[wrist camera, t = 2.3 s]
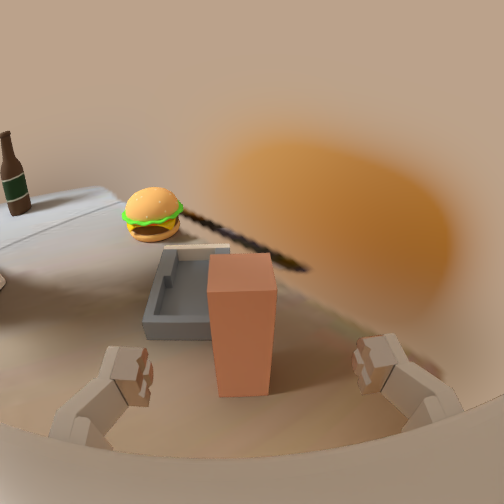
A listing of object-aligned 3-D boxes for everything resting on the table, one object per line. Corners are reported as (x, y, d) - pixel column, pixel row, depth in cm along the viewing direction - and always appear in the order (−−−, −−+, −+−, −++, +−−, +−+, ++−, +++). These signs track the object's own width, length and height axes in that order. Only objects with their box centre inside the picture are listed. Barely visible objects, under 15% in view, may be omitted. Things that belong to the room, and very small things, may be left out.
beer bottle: (13, 209, 73) (-3, 134, 60) (34, 202, 76) (19, 126, 63) (7, 219, 67) (-11, 138, 54) (29, 212, 70) (12, 129, 57)
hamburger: (133, 219, 64) (127, 182, 60) (187, 216, 65) (184, 177, 61) (119, 248, 54) (110, 205, 49) (182, 245, 55) (177, 200, 51)
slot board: (231, 339, 36) (230, 321, 35) (147, 339, 36) (141, 322, 34) (230, 259, 51) (229, 243, 49) (167, 261, 50) (164, 245, 49)
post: (268, 395, 30) (277, 290, 22) (219, 397, 29) (206, 292, 22) (263, 358, 34) (269, 252, 26) (219, 360, 34) (209, 254, 26)
